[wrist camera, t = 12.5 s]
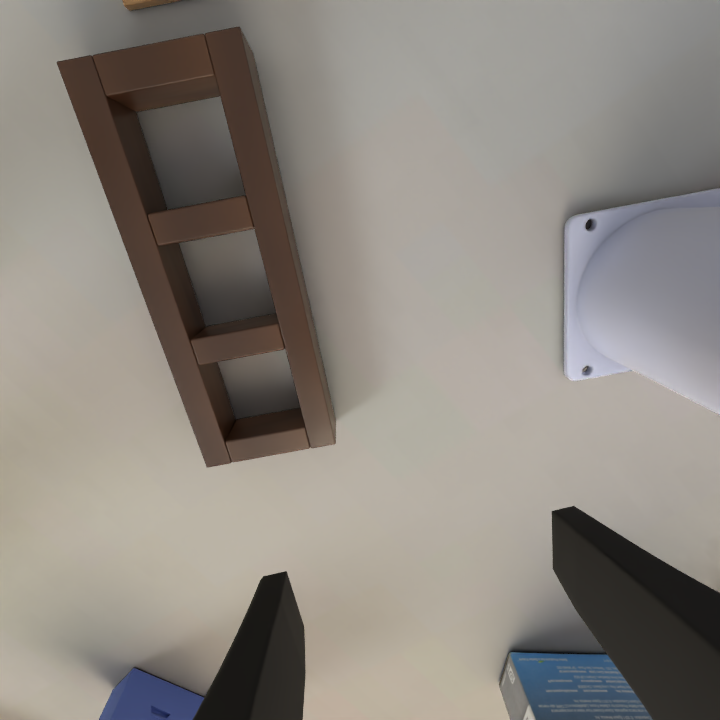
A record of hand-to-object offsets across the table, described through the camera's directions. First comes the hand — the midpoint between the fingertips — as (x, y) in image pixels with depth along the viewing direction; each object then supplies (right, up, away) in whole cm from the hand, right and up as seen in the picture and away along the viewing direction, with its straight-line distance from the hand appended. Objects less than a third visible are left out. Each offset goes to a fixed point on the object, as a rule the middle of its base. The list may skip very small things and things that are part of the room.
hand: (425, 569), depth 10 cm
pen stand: (-7, +9, +7) cm, 14 cm away
